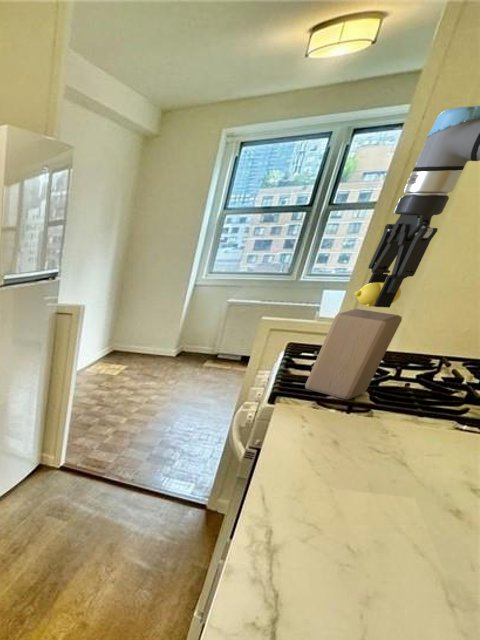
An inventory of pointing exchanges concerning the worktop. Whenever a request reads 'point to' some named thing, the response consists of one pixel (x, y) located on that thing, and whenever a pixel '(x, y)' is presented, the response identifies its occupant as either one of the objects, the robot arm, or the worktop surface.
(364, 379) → the block
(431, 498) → the worktop surface
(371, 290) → the lemon
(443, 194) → the robot arm
